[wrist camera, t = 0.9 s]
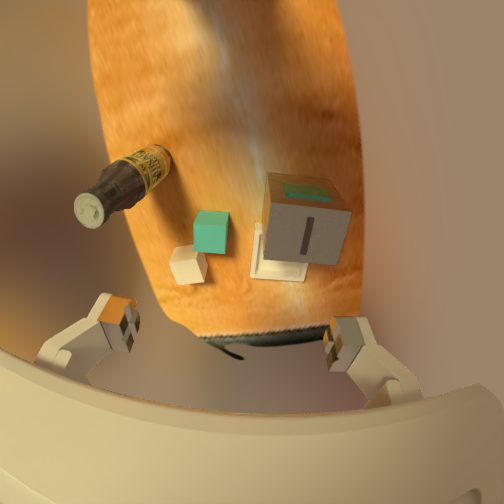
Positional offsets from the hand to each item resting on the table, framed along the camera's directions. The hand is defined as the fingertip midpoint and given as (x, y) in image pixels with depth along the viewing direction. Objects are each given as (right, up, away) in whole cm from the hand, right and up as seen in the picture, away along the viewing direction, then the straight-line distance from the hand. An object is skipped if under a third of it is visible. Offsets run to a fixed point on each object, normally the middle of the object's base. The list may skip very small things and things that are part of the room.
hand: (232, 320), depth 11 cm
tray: (+6, +3, +38) cm, 39 cm away
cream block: (-10, +2, +39) cm, 41 cm away
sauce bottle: (-15, +17, +29) cm, 37 cm away
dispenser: (+8, +11, +33) cm, 35 cm away
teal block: (-6, +7, +36) cm, 37 cm away
